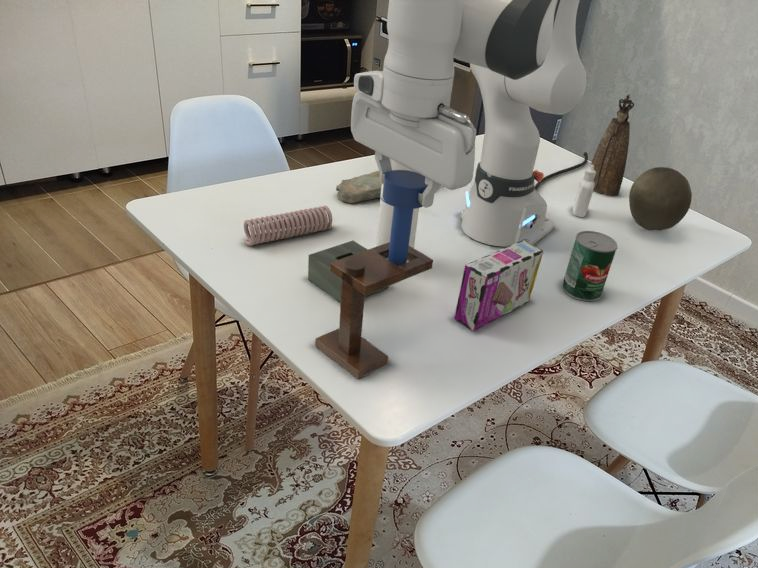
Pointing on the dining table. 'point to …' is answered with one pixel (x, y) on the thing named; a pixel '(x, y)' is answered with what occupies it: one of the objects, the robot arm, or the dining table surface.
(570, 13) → the robot arm
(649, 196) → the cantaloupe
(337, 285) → the holder
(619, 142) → the statue
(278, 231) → the coil
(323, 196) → the dining table surface
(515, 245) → the candy bar box
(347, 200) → the elongated rock
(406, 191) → the peg
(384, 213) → the cylindrical container
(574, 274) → the canned tomato
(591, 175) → the eye dropper bottle
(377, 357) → the stand
